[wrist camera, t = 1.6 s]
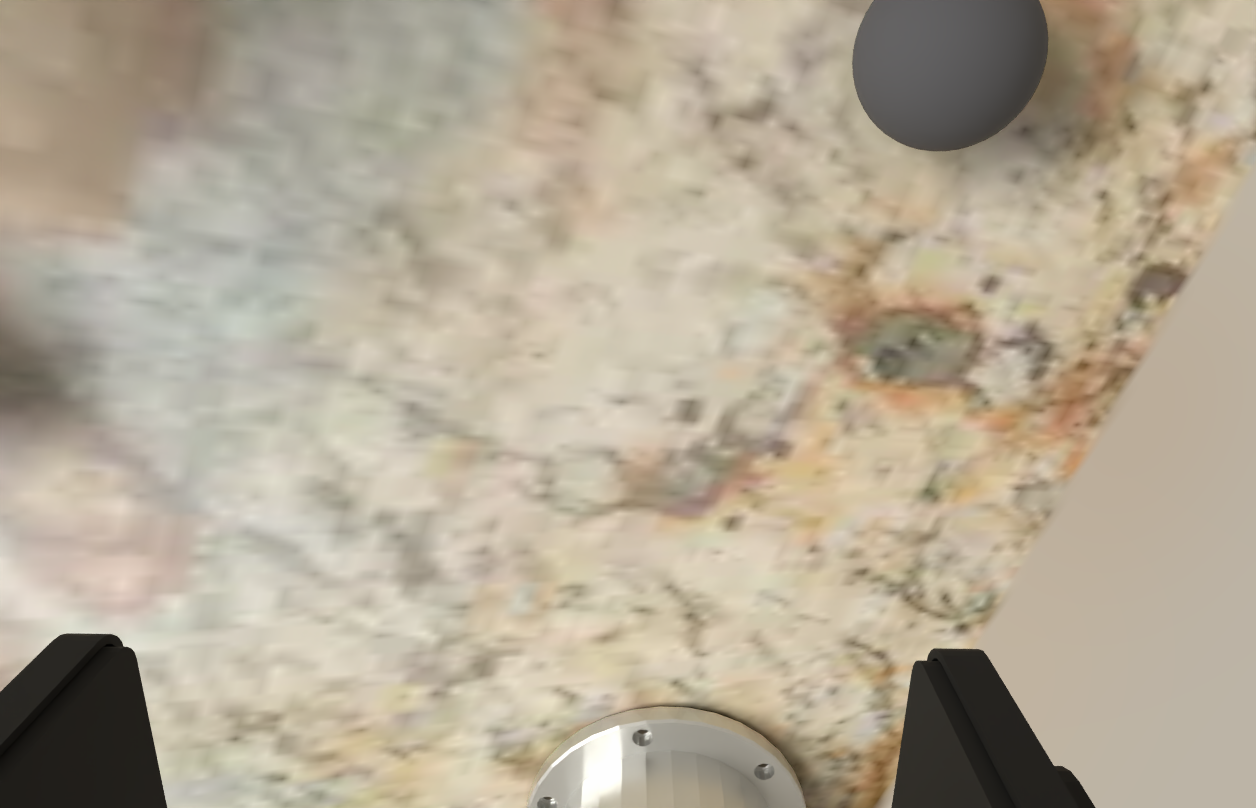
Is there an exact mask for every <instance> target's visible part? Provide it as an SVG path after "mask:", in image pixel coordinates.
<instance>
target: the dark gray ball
mask: <svg viewBox="0 0 1256 808" xmlns="http://www.w3.org/2000/svg"><path fill="white" fill-rule="evenodd" d="M1047 51H1048V31H1047V23H1046V19H1045V15H1044V12H1043V9H1042V6H1041V4H1040V1H1039V0H874V1H873V2H872V4H871V6H870V7H869V9H868V11H867V12H866V14H865V16H864V18H863V21H862V23H861V25H860V27H859V30H858V33H857V36H856V40H855V45H854V50H853V62H852V64H853V78H854V84H855V88H856V91H857V94H858V97H859V100H860V102H861V104H862V106H863V108H864V110H865V112H866V113H867V115H868V116H869V118H870V119H871V120H872V121H873V123H874V124H875V125H876V126H877V127H878V128H879V129H880V130H881V131H883V132H884V133H885V134H886V135H888V136H889V137H891V138H893V139H894V140H896V141H897V142H900V143H902V144H904V145H906V146H909V147H912V148H916V149H920V150H927V151H950V150H958V149H961V148H965V147H969V146H972V145H974V144H977V143H979V142H982V141H984V140H986V139H988V138H989V137H991V136H993V135H995V134H996V133H998V132H999V131H1000V130H1002V129H1003V128H1005V127H1006V126H1007V125H1008V124H1009V123H1010V122H1011V121H1012V120H1013V119H1014V118H1015V117H1016V116H1017V115H1018V114H1019V113H1020V112H1021V111H1022V110H1023V108H1024V107H1025V106H1026V104H1027V103H1028V102H1029V100H1030V99H1031V97H1032V96H1033V94H1034V92H1035V90H1036V88H1037V86H1038V84H1039V82H1040V79H1041V77H1042V74H1043V71H1044V67H1045V63H1046V58H1047Z"/></svg>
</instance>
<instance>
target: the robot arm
mask: <svg viewBox="0 0 1256 808" xmlns="http://www.w3.org/2000/svg"><path fill="white" fill-rule="evenodd" d="M0 808H167V805H166V800H165V795H164V790H163V785H162V780H161V776H160V771H159V766H158V761H157V756H156V751H155V746H154V741H153V736H152V732H151V727H150V722H149V717H148V712H147V707H146V702H145V697H144V692H143V688H142V683H141V678H140V673H139V668H138V663H137V658H136V655H135V652H134V651H133V650H132V649H131V648H129V647H123V644H122V641H121V640H120V639H119V638H118V637H117V636H115V635H112V634H63V635H60V636H58V637H57V638H56V639H54V640H53V641H52V642H51V643H50V644H49V645H48V646H47V647H46V648H45V649H44V650H43V651H42V652H41V653H40V654H39V655H38V656H37V657H36V658H35V659H34V660H33V661H32V662H31V663H30V664H28V665H27V666H26V667H25V668H24V669H23V670H22V671H21V672H20V673H19V674H18V675H17V676H16V677H15V678H14V679H13V680H12V681H11V682H10V683H9V684H8V685H7V686H6V687H5V688H4V689H3V690H2V691H1V692H0ZM526 808H806V804H805V799H804V795H803V791H802V788H801V785H800V783H799V781H798V779H797V776H796V774H795V772H794V769H793V768H792V767H791V765H790V764H789V763H788V761H787V760H786V759H785V757H784V756H783V755H782V753H781V752H780V751H779V750H778V749H777V748H776V747H775V746H774V745H772V744H771V743H770V742H769V741H768V740H767V739H766V738H765V737H763V736H762V735H761V734H759V733H757V732H756V731H754V730H752V729H751V728H749V727H747V726H746V725H744V724H742V723H740V722H738V721H735V720H733V719H730V718H727V717H725V716H722V715H719V714H717V713H713V712H708V711H703V710H698V709H693V708H688V707H662V706H659V707H651V708H642V709H634V710H629V711H626V712H622V713H619V714H615V715H612V716H608V717H605V718H603V719H601V720H599V721H597V722H595V723H592V724H590V725H588V726H586V727H584V728H582V729H580V730H579V731H578V732H576V733H575V734H574V735H572V736H571V737H569V738H568V739H567V740H565V741H564V742H562V743H561V744H560V745H559V746H558V747H557V748H556V750H555V751H554V752H553V753H552V754H551V755H550V756H549V757H548V758H547V759H546V760H545V762H544V763H543V765H542V767H541V768H540V770H539V772H538V773H537V775H536V777H535V778H534V781H533V784H532V787H531V790H530V793H529V796H528V800H527V807H526ZM892 808H1095V806H1094V805H1093V803H1092V801H1091V800H1090V799H1089V797H1088V795H1087V793H1086V792H1085V790H1084V789H1083V787H1082V785H1081V784H1080V782H1079V781H1078V780H1077V779H1076V777H1075V776H1074V775H1073V774H1072V772H1071V771H1069V770H1068V769H1066V768H1064V767H1063V766H1054V765H1053V764H1052V762H1051V761H1050V759H1049V757H1048V756H1047V754H1046V752H1045V751H1044V749H1043V747H1042V746H1041V744H1040V743H1039V741H1038V739H1037V737H1036V736H1035V734H1034V732H1033V731H1032V729H1031V728H1030V726H1029V724H1028V723H1027V721H1026V719H1025V718H1024V716H1023V714H1022V713H1021V711H1020V709H1019V708H1018V706H1017V704H1016V703H1015V701H1014V699H1013V698H1012V696H1011V695H1010V693H1009V691H1008V689H1007V688H1006V686H1005V684H1004V683H1003V681H1002V680H1001V678H1000V677H999V675H998V673H997V671H996V670H995V668H994V666H993V665H992V663H991V662H990V660H989V658H988V657H987V655H986V654H985V653H984V651H982V650H979V649H933V650H931V651H930V653H929V655H928V659H927V661H916V662H915V663H914V665H913V669H912V674H911V681H910V688H909V694H908V701H907V708H906V715H905V721H904V728H903V735H902V742H901V748H900V755H899V762H898V769H897V775H896V782H895V789H894V795H893V802H892Z"/></svg>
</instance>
